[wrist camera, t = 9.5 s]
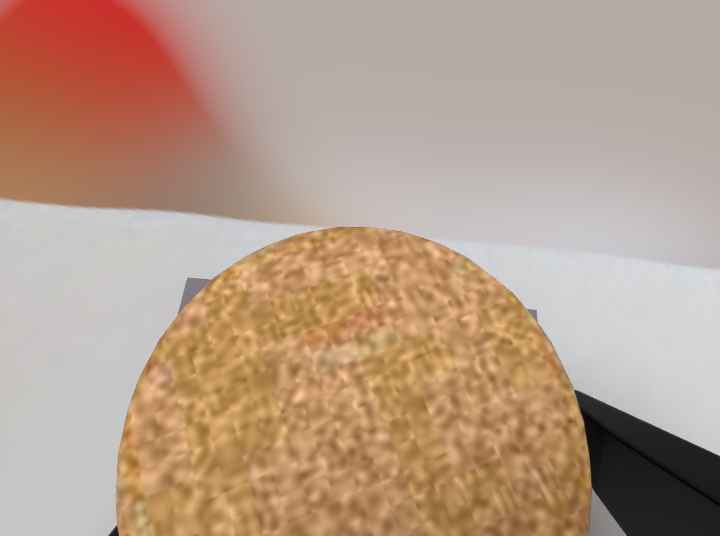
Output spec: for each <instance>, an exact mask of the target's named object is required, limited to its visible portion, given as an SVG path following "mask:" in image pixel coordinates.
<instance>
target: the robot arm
mask: <svg viewBox="0 0 720 536" xmlns="http://www.w3.org/2000/svg"><path fill="white" fill-rule="evenodd" d="M574 392H575V395H576V398H577V401H578V405H579V408H580V411H581V414H582V418H583V421H584V427H585V433H586V439H587V445H588V451H589V457H590V470H591V485H592V488H593V490H594V491H595V493H596V494H597V496H598V497H599V498H600V500H601V501H602V503H603V504H604V505H605V507H606V508H607V509H608V511H609V512H610V514H611V515H612V516H613V518H614V519H615V520H616V522H617V523H618V524H619V526H620V527H621V528H622V530H623V531H624V532H625V534H626V535H627V536H720V456H719V455H716V454H714V453H712V452H710V451H708V450H706V449H703V448H701V447H699V446H697V445H695V444H693V443H690V442H688V441H686V440H684V439H682V438H680V437H677V436H675V435H673V434H671V433H669V432H667V431H664V430H662V429H660V428H658V427H656V426H653V425H651V424H649V423H647V422H645V421H643V420H640V419H638V418H636V417H634V416H632V415H630V414H627V413H625V412H623V411H621V410H619V409H617V408H614V407H612V406H610V405H608V404H606V403H604V402H601V401H599V400H597V399H595V398H593V397H591V396H588V395H586V394H584V393H582V392H580V391H577V390H574ZM109 536H119V532H118V527H117V526H116V527H115V528H114V529H113V531H112V532H111V533H110V534H109Z"/></svg>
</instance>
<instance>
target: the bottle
mask: <svg viewBox="0 0 720 536" xmlns="http://www.w3.org/2000/svg"><path fill="white" fill-rule="evenodd" d="M591 495H592V485H591V470H590V457H589V451H588V445H587V439H586V433H585V427H584V421H583V418H582V414H581V411H580V408H579V405H578V401H577V398H576V395H575V392H574V388H573V386H572V384H571V382H570V380H569V378H568V375H567V373H566V371H565V369H564V367H563V365H562V363H561V361H560V359H559V357H558V355H557V353H556V351H555V349H554V347H553V345H552V343H551V341H550V340H549V338H548V337H547V335H546V334H545V333H544V331H543V330H542V328H541V327H540V325H539V324H538V322H537V321H536V320H535V319H534V317H533V316H532V315H531V314H530V313H529V312H528V310H527V309H526V308H525V307H524V306H523V304H522V303H521V302H520V301H519V300H518V299H517V297H516V296H515V295H514V294H513V293H512V292H511V291H510V290H508V289H507V288H506V287H505V286H504V285H502V284H501V283H500V282H499V281H497V280H496V279H495V278H493V277H492V276H491V275H490V274H488V273H487V272H486V271H484V270H483V269H482V268H480V267H479V266H478V265H476V264H475V263H474V262H472V261H471V260H470V259H468V258H467V257H465V256H463V255H461V254H459V253H457V252H455V251H453V250H451V249H449V248H447V247H445V246H443V245H441V244H438V243H435V242H433V241H430V240H427V239H424V238H421V237H418V236H414V235H411V234H407V233H404V232H401V231H394V230H386V229H379V228H372V227H336V228H330V229H324V230H318V231H312V232H307V233H302V234H298V235H295V236H292V237H289V238H287V239H284V240H281V241H279V242H276V243H273V244H271V245H268V246H266V247H264V248H262V249H260V250H258V251H256V252H254V253H252V254H250V255H248V256H246V257H244V258H242V259H241V260H240V261H238V262H237V263H235V264H234V265H232V266H231V267H229V268H228V269H226V270H225V271H223V272H222V273H220V274H219V275H217V276H216V277H214V278H213V279H212V280H211V281H210V282H209V283H208V284H207V285H206V286H205V287H204V288H203V289H202V290H201V291H200V292H199V293H198V294H197V295H196V296H195V297H194V298H193V299H192V300H191V301H190V302H189V303H188V304H187V305H186V306H185V307H184V308H183V310H182V311H181V312H180V313H179V315H178V316H177V317H176V319H175V320H174V321H173V323H172V324H171V325H170V327H169V328H168V329H167V331H166V332H165V333H164V335H163V336H162V337H161V338H160V340H159V342H158V344H157V346H156V347H155V349H154V351H153V353H152V355H151V357H150V359H149V360H148V362H147V364H146V366H145V368H144V370H143V372H142V373H141V375H140V377H139V380H138V383H137V385H136V388H135V391H134V394H133V396H132V399H131V402H130V405H129V408H128V411H127V416H126V420H125V425H124V429H123V434H122V439H121V443H120V448H119V452H118V468H117V485H116V511H117V527H118V532H119V536H588V533H589V522H590V508H591Z"/></svg>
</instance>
